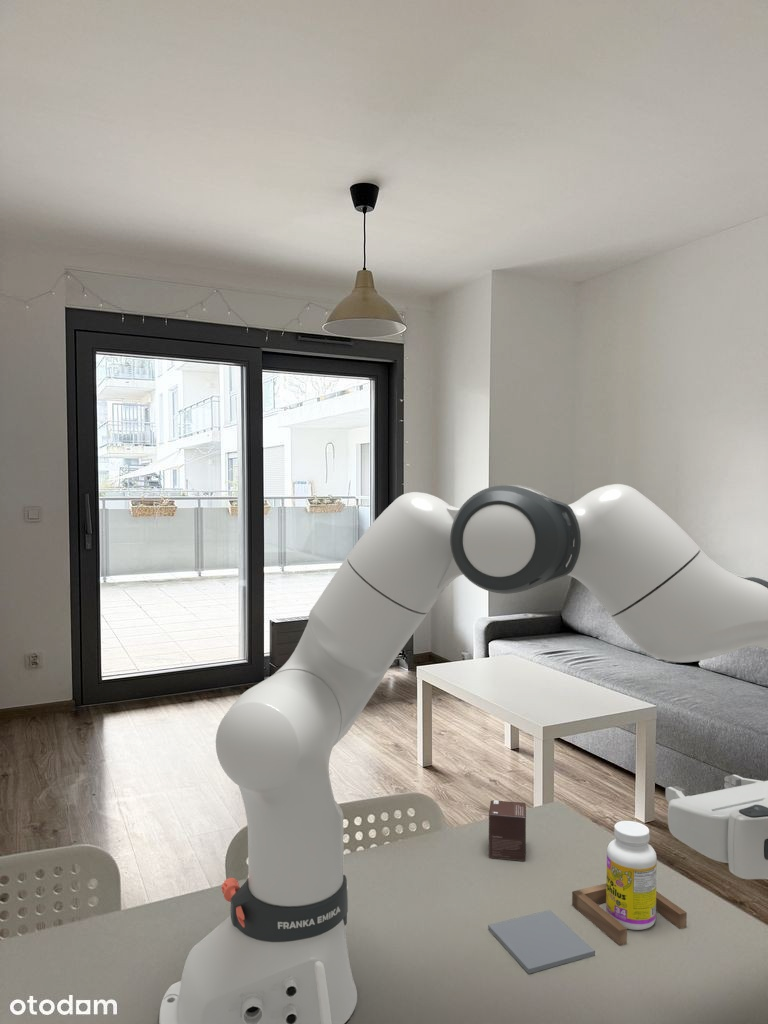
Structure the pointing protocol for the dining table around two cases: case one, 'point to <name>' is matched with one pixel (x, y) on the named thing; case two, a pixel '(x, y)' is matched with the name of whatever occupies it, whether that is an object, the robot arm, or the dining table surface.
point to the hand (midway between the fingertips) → (699, 786)
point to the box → (507, 830)
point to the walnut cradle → (616, 931)
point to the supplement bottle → (631, 876)
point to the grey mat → (540, 941)
